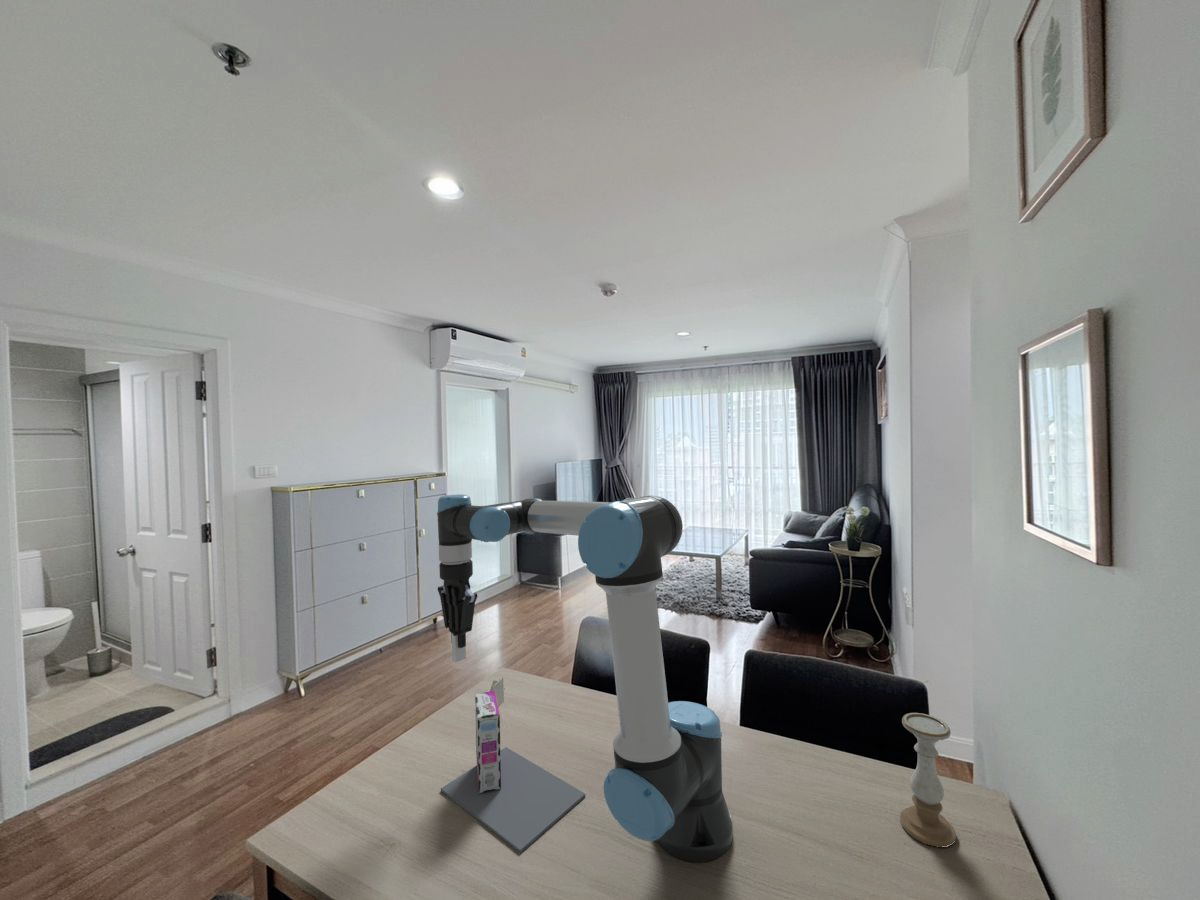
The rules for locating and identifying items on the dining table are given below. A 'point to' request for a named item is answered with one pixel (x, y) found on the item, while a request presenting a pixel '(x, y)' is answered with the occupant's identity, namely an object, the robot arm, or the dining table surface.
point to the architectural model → (498, 690)
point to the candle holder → (927, 784)
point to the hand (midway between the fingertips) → (459, 659)
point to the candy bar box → (488, 742)
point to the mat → (516, 800)
